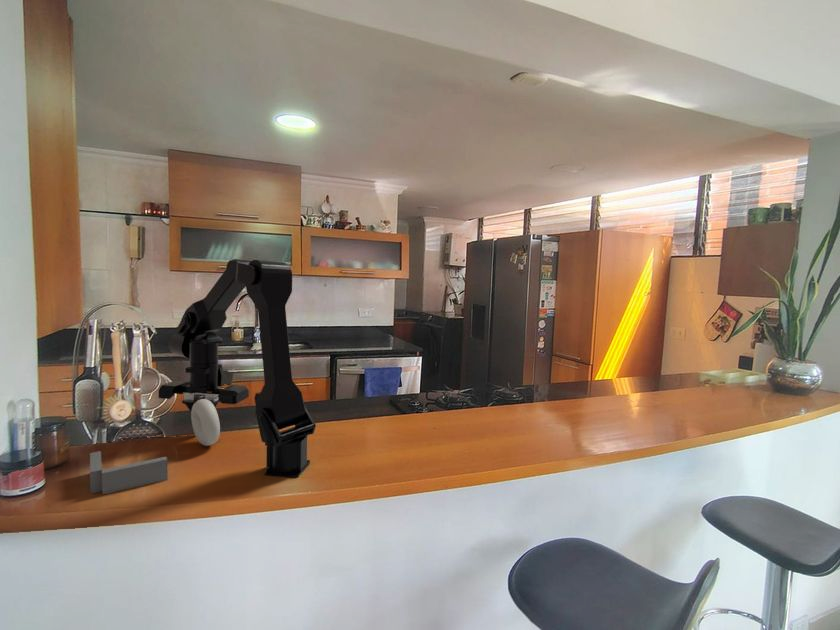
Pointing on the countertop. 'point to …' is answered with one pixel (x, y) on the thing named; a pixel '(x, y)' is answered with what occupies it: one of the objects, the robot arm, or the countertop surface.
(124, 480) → the grey l-shaped bracket
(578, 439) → the countertop surface
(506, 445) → the countertop surface
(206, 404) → the donut
